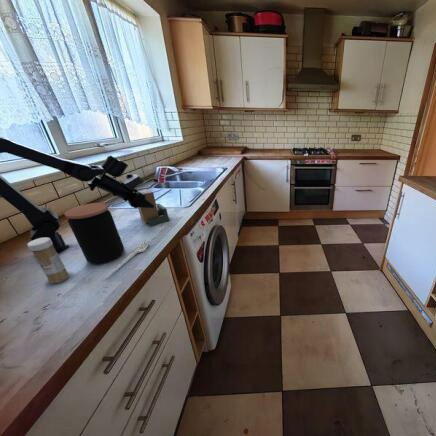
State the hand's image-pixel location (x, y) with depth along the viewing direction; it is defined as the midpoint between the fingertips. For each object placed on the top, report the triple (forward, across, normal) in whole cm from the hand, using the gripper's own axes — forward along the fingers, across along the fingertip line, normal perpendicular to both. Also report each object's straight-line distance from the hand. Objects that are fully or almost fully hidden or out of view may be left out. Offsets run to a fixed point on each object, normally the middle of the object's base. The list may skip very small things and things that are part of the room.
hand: (150, 204), depth 101 cm
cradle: (+5, 0, +6) cm, 8 cm away
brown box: (+4, 0, +6) cm, 7 cm away
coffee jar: (-10, -18, +21) cm, 29 cm away
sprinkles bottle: (-18, -22, +30) cm, 41 cm away
